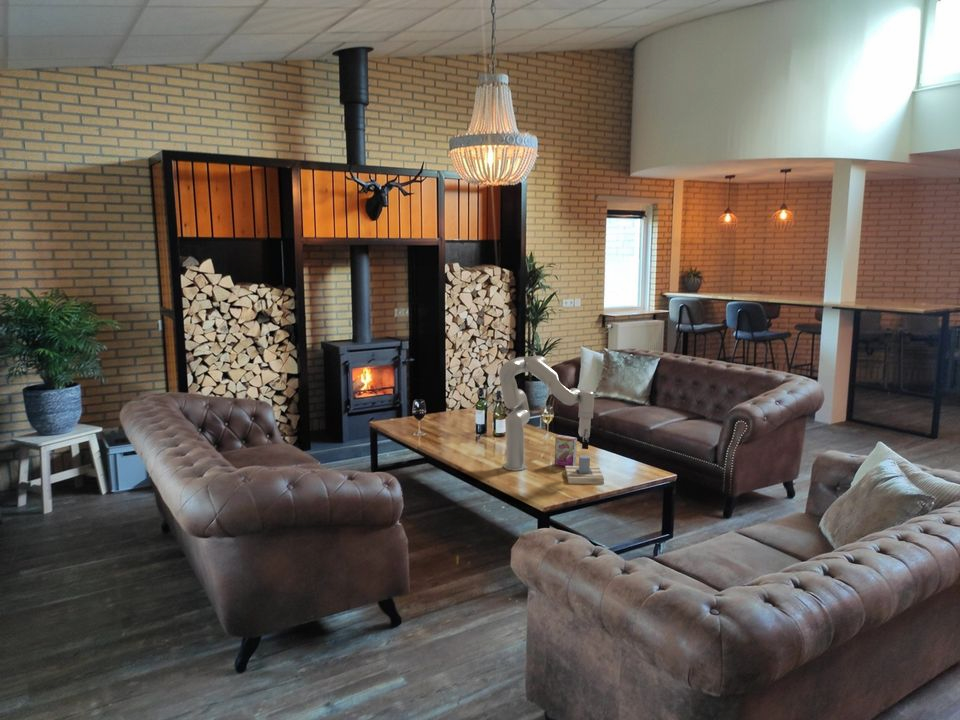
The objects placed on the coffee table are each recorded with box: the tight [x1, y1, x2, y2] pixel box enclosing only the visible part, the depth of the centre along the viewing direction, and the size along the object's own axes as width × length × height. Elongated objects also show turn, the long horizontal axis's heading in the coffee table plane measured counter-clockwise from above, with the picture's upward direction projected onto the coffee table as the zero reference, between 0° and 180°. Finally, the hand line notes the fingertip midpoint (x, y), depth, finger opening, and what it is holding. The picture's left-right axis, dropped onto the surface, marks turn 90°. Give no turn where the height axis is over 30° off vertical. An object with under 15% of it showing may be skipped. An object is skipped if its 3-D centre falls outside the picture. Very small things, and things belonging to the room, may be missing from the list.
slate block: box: [578, 454, 591, 473], centre depth 374 cm, size 5×5×8 cm
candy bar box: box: [554, 434, 578, 467], centre depth 394 cm, size 11×5×16 cm, turn 59°
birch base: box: [564, 465, 605, 485], centre depth 375 cm, size 20×18×3 cm
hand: (583, 446), depth 372 cm, fingers open, 9 cm apart
